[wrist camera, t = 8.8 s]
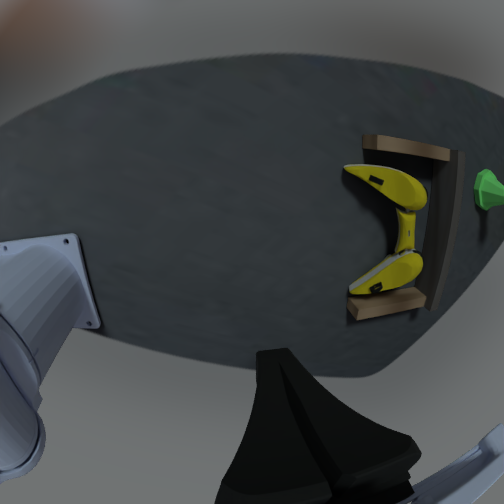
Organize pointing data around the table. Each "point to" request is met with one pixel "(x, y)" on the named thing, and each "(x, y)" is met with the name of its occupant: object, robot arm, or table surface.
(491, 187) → the game piece
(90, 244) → the table surface
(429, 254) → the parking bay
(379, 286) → the yellow plastic handheld tool
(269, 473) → the robot arm
